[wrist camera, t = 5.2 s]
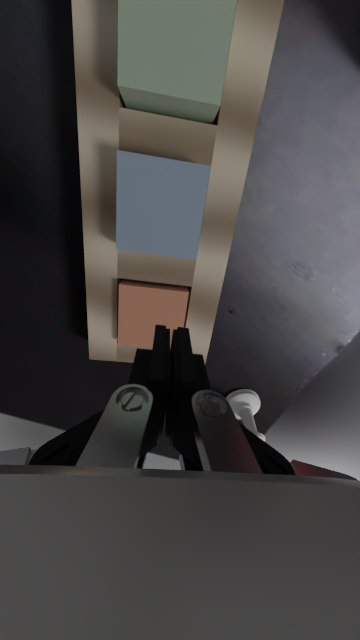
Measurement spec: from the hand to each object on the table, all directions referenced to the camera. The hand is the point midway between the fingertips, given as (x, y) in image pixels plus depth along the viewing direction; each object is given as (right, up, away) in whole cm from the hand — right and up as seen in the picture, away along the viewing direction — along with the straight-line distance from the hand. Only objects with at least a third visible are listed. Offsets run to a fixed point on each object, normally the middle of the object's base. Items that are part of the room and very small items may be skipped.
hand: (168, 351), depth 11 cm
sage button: (0, +19, +3) cm, 19 cm away
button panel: (-1, +11, +9) cm, 14 cm away
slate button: (-1, +10, +7) cm, 12 cm away
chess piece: (+9, -10, +19) cm, 23 cm away
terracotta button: (-2, +3, +12) cm, 12 cm away
